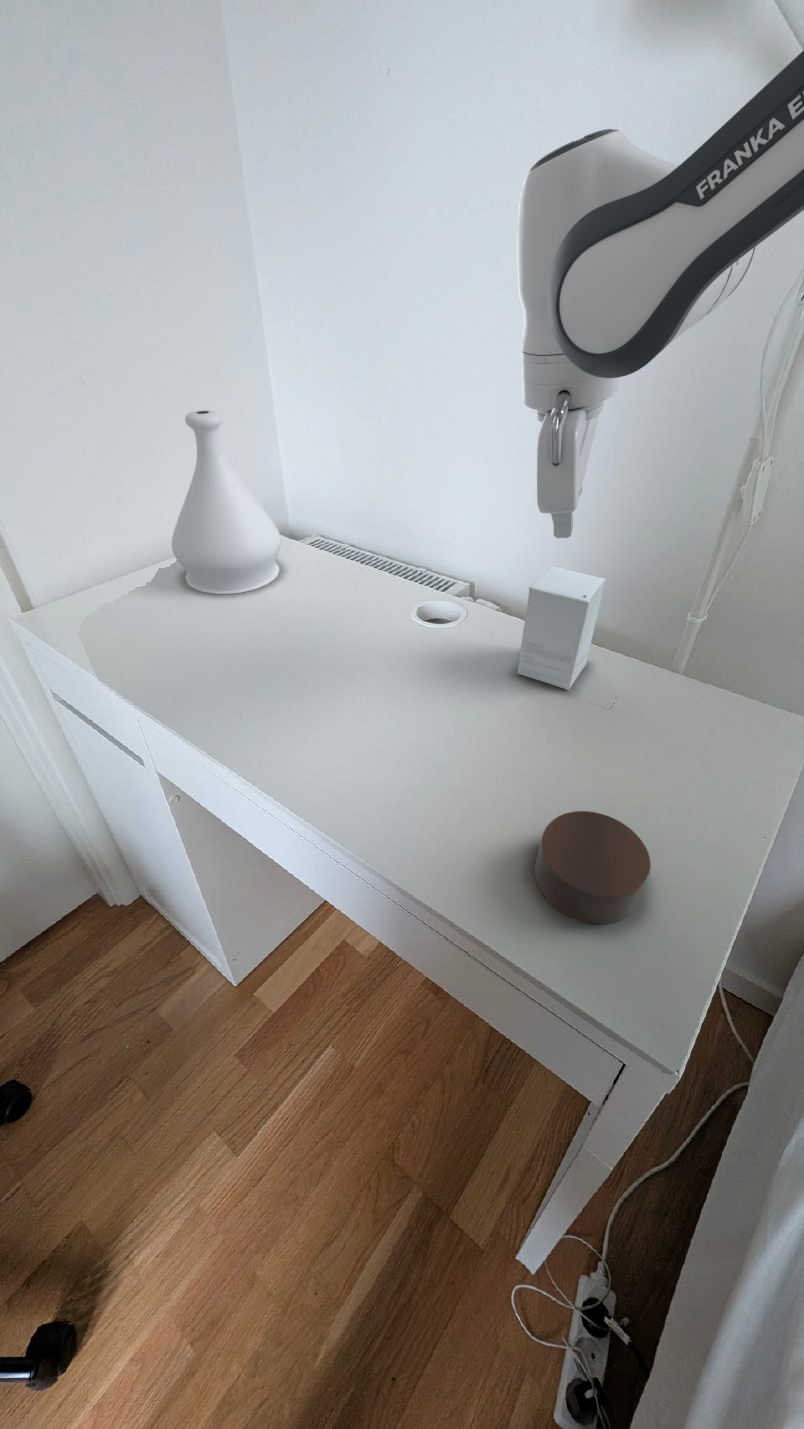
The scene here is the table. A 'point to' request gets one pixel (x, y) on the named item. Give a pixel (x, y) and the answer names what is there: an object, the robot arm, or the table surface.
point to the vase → (222, 522)
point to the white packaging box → (559, 626)
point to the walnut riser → (591, 867)
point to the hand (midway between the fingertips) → (568, 513)
